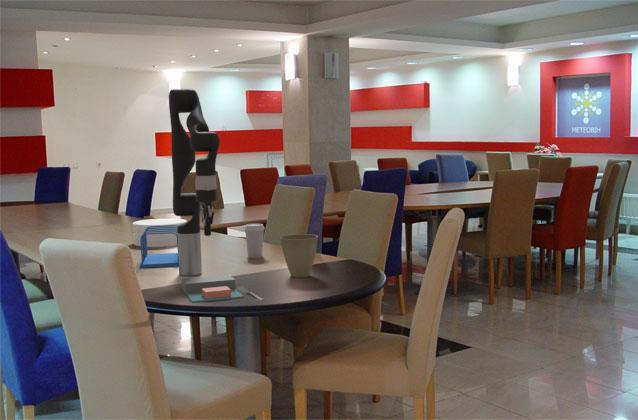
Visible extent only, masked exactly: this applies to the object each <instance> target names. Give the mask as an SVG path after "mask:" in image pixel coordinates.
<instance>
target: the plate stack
mask: <svg viewBox="0 0 638 420" xmlns="http://www.w3.org/2000/svg"><path fill="white" fill-rule="evenodd" d="M186 222H188V221H187V219H183V218H152V219H151V218H150V219H141V220H136V221H133V222H132V226H133V227H132V230H133V232H132V233H133V234H132V235H133V238H132V239H133V245H134V246H135V247H141V243H140V239H141V236H142V235H143V233H144V232H145V230H146V228H147V227H149V226H163V225H176V226H179V225H181V224H184V223H186ZM168 227H175V226H168ZM150 228H154V227H150ZM160 229H176V228H160ZM148 230H150V229H148ZM176 230H177V229H176ZM176 230H174V231H176ZM155 231H166V230H155ZM176 232H177V231H176ZM151 233H163V232H151ZM174 233H175V232H174ZM177 233H178V232H177ZM177 233H176V234H177ZM146 237H147V248H163V247H164V246H165V247H174V245H175V246H177V237H176V235H175V234H149V235H146ZM144 244H145V242H144Z"/></svg>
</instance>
